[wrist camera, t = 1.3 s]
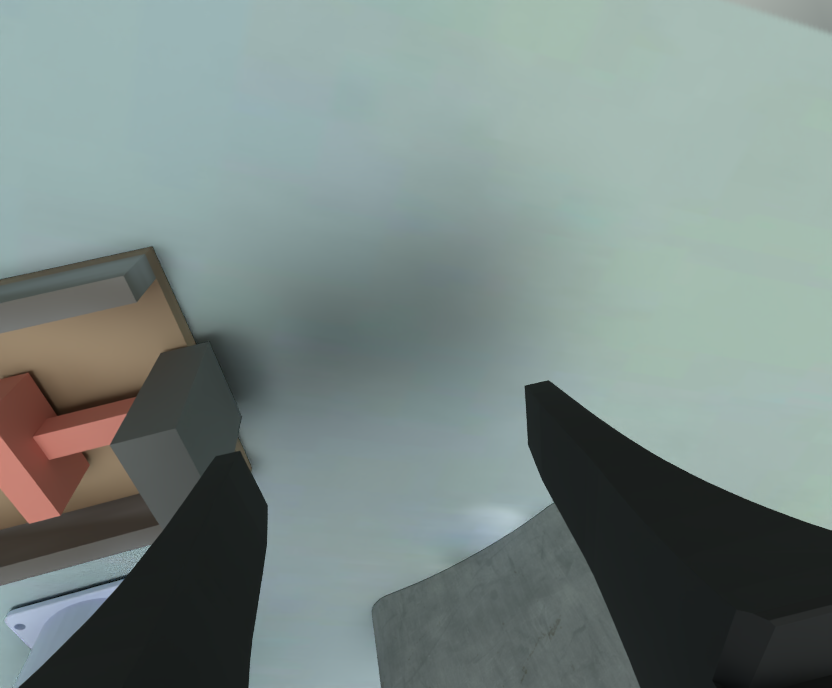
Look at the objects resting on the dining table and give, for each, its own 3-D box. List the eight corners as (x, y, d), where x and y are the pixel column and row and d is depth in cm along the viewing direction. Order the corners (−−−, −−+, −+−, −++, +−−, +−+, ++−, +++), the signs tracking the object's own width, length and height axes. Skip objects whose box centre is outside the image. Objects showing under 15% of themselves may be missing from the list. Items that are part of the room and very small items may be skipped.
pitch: (251, 467, 25) (244, 519, 22) (-32, 542, 24) (-81, 607, 21) (152, 246, 19) (123, 275, 16) (-230, 329, 18) (-337, 378, 15)
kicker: (245, 425, 23) (226, 526, 17) (62, 471, 22) (-15, 592, 17) (204, 331, 20) (168, 415, 15) (-4, 380, 19) (-118, 487, 14)
